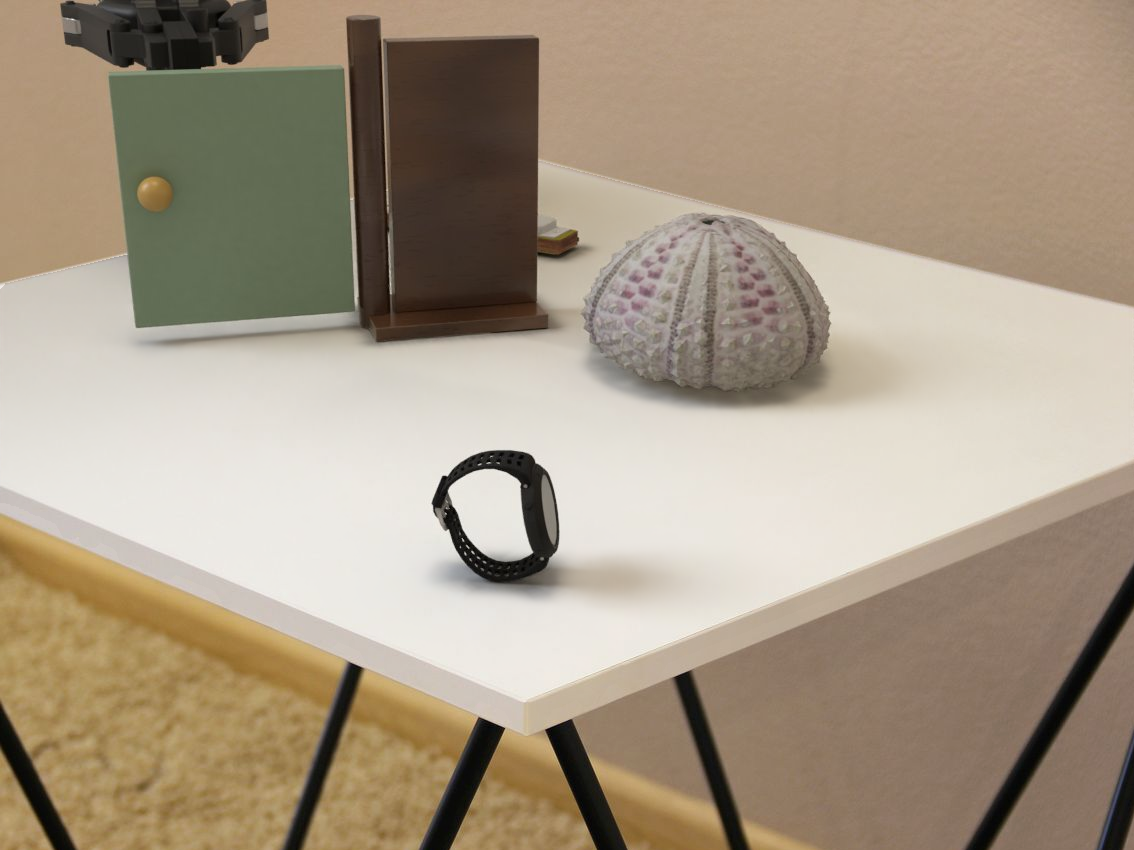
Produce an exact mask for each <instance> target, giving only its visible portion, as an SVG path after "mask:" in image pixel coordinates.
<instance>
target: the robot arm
mask: <svg viewBox="0 0 1134 850" xmlns="http://www.w3.org/2000/svg"><path fill="white" fill-rule="evenodd" d="M59 6H60V14H61V24H62V31H63V37H64V44H65V45H66V46H70V47H75V48H76V47H77V48H82V49H84V50H86V51H88V52H89V53H91V54H93V55H94V56H97V57H98V58H100V59H102V60H103V61H105V62H107V63H109V64H111V65H113V66H114V67H115V66H116V67H119V68H121V69H126V68H127V69H128V68H129V67H131V66H135V63H136V64H138V65H140V66H142V67H143V68H145V71H153V70H188V69H202V68H207V67H208V68H209V67H216V66H217V64H218V62H217V57H220V61H221V63H223V64H227V65H229V66H234V65H237V64H239V63H242V62H243V61H244V60H245V58H246V57H247V56H248V55H249V54H250V52H251V51H252V49H253V48H254V47H255V46H256V44H258V43H263V42H265V41H267V40H270V34H269V33H270V32H269V31H270V30H269V22H268V21H269V20H268V19H269V18H268V4H267V0H234V1H233V4H232V5H231V3H230V1H228V0H98V3H91V2H90V3H83V2H75V0H65V1H64V2H60V3H59Z"/></svg>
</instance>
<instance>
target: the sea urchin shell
mask: <svg viewBox="0 0 1134 850" xmlns="http://www.w3.org/2000/svg"><path fill="white" fill-rule="evenodd" d="M797 255H798V254H796V253H794V252H792V251H791V250H790V249H789V248H788V247H787V244H786V241H781V240H779V238H777V236H776V234H775V233H774V232H770V231H768V230H767V229H766V228H764V227H763V226H762V224H759V223H757V222H756V221H755V220H753V219H750V218H746V217H742V216H738V215H737V216H736V215H732V214H727V215H720V214H709V213H706V212H698V213H695V212H690V213H687V214H686V213H685V214H681V215H679V216H677V217H675V218H672V219H671V220H670V221H667V222H666V223H664V224H663V225H658V224H657V225H654V228H653V229H651V230H648V231H643V232H642V233H641V235H640V236H639V237H638V238H635V239H631V240H625V245H624V247H623V248H622V249H621V250H620V251H618V252H614V253H611V254H610V256H611V257H610V262H609V263H608V264H607V265H605V266H603V267H601V268H600V269H599V275H598V276H597V277H595V278H594V282H593V283H592V284H591V285H590V292H589V293H587V294H586V295H585V296H583V297H582V300H583V301H584V304H585V307H584V308H583V309H582V310H581V312H580V314H581V316H582V318H584V320H585V322H584V325H583V327H582V328H583V330H585V331H586V332H587V333H589V343H590V344H592V345H595V346H597V347H598V351H599V353H600V354H603V357H604V358H606V359H609V360H612V361H614V362H615V363H616V365H617V366H618V367H619V368H620V369H622V370H626V371H627V370H632V371H633V373H634V374H638V376H640V377H641V376H642V377H644V378H645V379H646V380H647V379H648V380H649V379H651V380H653V381H654V383H655V382H662V381H664V380H669V381H673V382H674V383H676V385H677V386H680V387H681V388H684V387H687V386H690V387H691V388H695V389H697V390H701V389H702V388H704V387H708V386H713V387H716V388H718V389H721V390H722V391H723V392H725V393H727V392H729V391H736V392H737V393H738V392H739V393H740V392H742V391H743V390H745V389H751V390H752V389H753V390H758V389H759V388H764V389H767V390H769V389H770V388H775V387H776V386H777V385H778V384H779V383H781V382H789V380H790V379H791V380H796V378H798V376H799V375H800V374H807V373H809V370H810V368H811V366H812V365H816V364H820V363H821V362H820V361H821V355H824V352H825V351H826V350H827V349H828V344H829V337H830V336H831V334H830V332H829V331H830V327H831V325H832V322H831V321H830V314H831V311H829V308H830V306H829V305H828V304H826V300H825V297H824V296H823V295H822V293H821V291H820V289H819V287H818V285H817V284H816V280H814V279H813V277H812V276H811V275H810V273H809V272H808V271H807V269H806V268H805V266H804V265H803V264H802V262H801V261H800V260H799V258H798V256H797Z"/></svg>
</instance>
